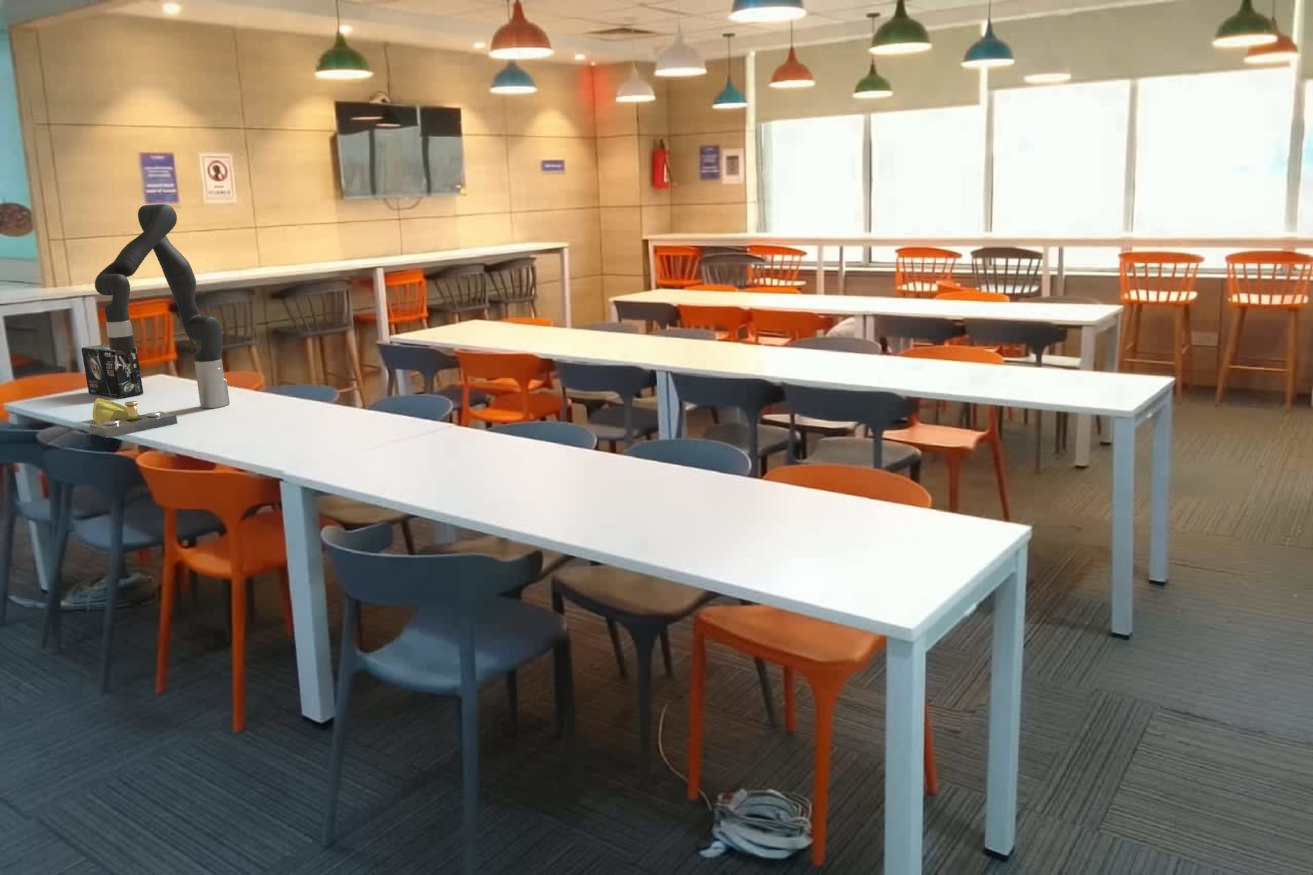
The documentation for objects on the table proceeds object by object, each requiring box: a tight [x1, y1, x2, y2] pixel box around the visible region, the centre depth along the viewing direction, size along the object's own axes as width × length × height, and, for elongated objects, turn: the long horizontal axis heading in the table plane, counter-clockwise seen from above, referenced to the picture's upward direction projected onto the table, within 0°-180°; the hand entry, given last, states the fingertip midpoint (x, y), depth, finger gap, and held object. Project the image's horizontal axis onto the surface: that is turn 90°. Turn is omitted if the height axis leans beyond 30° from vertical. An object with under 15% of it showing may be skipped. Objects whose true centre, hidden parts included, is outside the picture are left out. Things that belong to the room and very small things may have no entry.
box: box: [80, 344, 144, 399], centre depth 414 cm, size 23×10×19 cm, turn 57°
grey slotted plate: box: [89, 410, 178, 439], centre depth 354 cm, size 24×11×4 cm, turn 142°
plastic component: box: [92, 397, 140, 424], centre depth 367 cm, size 20×7×10 cm
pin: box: [124, 400, 139, 422], centre depth 354 cm, size 4×4×9 cm
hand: (128, 382), depth 351 cm, fingers open, 8 cm apart
